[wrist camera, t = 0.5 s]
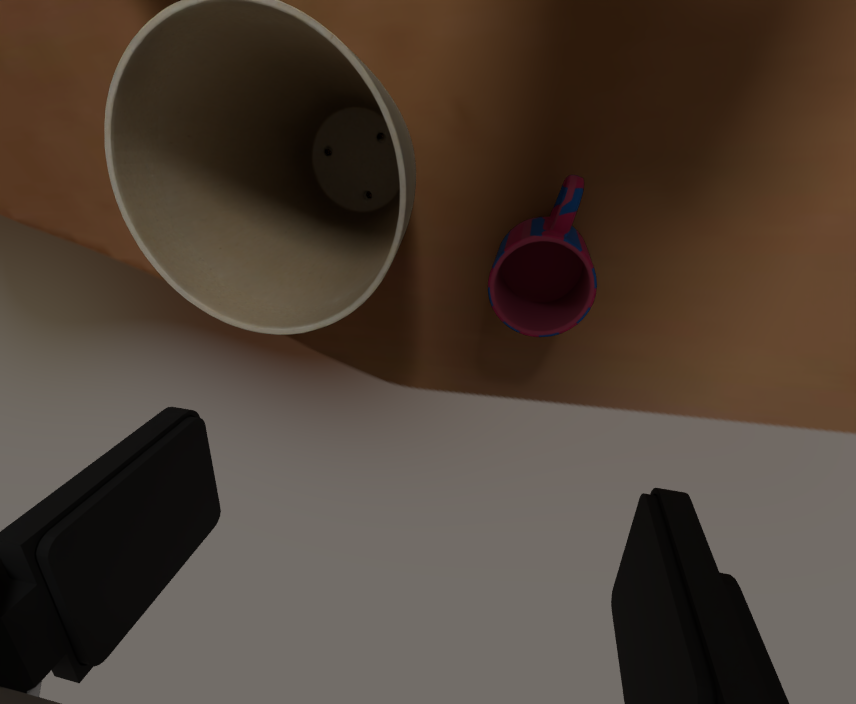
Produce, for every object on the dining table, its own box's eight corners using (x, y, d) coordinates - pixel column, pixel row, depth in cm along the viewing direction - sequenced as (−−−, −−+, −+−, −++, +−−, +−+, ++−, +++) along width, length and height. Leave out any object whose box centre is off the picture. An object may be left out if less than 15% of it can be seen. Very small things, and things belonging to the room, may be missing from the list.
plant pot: (280, 253, 41) (142, 320, 27) (259, 47, 35) (65, -7, 21) (455, 269, 39) (403, 351, 24) (467, 48, 32) (406, -14, 18)
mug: (483, 283, 39) (472, 313, 33) (539, 156, 34) (538, 162, 28) (562, 317, 38) (565, 352, 32) (628, 193, 34) (647, 207, 28)
